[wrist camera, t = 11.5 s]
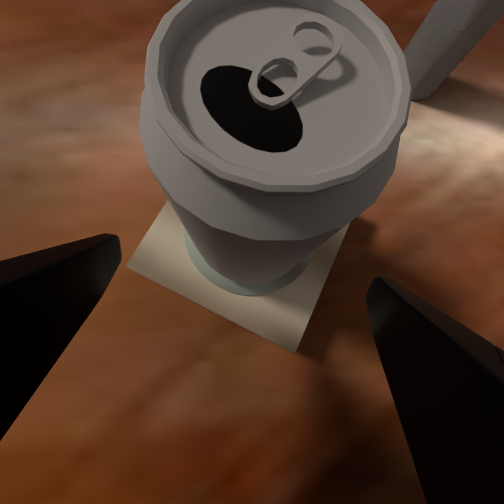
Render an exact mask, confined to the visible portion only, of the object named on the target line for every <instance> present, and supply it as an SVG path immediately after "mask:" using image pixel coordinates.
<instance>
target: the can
mask: <svg viewBox="0 0 504 504" xmlns="http://www.w3.org/2000/svg"><path fill="white" fill-rule="evenodd" d="M144 83H145V86H146V87H145V89H144V91H143V93H142V99H141V109H140V120H139V133H140V137H141V140H142V144H143V147H144V151H145V154H146V158H147V161H148V164H149V168H150V169H151V171H152V173H153V174H154V176H155V178H156V180H157V181H158V183H159V185H160V186H161V188H162V190H163V192H164V193H165V195H166V197H167V198H168V200H169V202H170V204H171V205H172V207H173V209H174V210H175V212H176V214H177V216H178V217H179V219H180V221H181V222H182V224H183V226H184V228H185V229H186V231H187V233H188V235H189V236H190V238H191V240H192V241H193V243H194V245H195V247H196V248H197V250H198V252H199V253H200V254H201V256H202V257H203V258H204V260H205V261H206V263H207V264H208V265H209V267H211V268H212V269H214V270H215V271H216V272H218V273H219V274H221V275H222V276H223V277H225V278H228V279H231V280H234V281H237V282H241V283H265V282H268V281H271V280H273V279H276V278H279V277H281V276H283V275H284V274H285V273H287V272H288V271H289V270H290V269H292V268H293V267H294V266H296V265H297V264H298V263H299V262H301V261H302V260H303V259H304V258H306V257H307V256H308V255H309V254H311V253H312V252H313V251H314V250H316V249H317V248H318V247H319V246H321V245H322V244H323V243H325V242H326V241H327V240H328V239H330V238H331V237H332V236H333V235H335V234H336V233H337V232H338V231H340V230H341V229H342V228H343V227H345V226H346V225H347V224H348V223H350V222H351V221H352V220H353V219H355V218H356V217H357V216H358V215H360V214H361V213H362V212H363V211H365V210H366V209H367V208H368V207H370V206H371V205H372V204H373V203H375V201H376V200H377V198H378V196H379V195H380V193H381V191H382V190H383V188H384V187H385V185H386V183H387V182H388V180H389V179H390V177H391V175H392V174H393V172H394V168H395V163H396V157H397V152H398V146H399V141H400V135H401V133H402V132H403V130H404V129H405V127H406V126H407V120H408V114H409V109H410V103H411V97H412V88H411V83H410V78H409V73H408V68H407V63H406V58H405V56H404V54H403V52H402V51H401V49H400V47H399V45H398V44H397V42H396V40H395V39H394V37H393V35H392V33H391V32H390V30H389V28H388V27H387V26H386V25H385V24H384V23H383V22H382V21H381V20H380V19H379V18H378V17H377V16H376V15H375V14H374V13H373V12H372V11H371V10H370V9H369V8H368V7H367V6H366V5H365V4H364V3H363V2H361V1H359V0H181V1H180V2H179V3H178V4H176V5H175V6H174V7H173V8H172V9H171V10H170V11H169V12H168V13H166V14H165V15H164V16H163V18H162V20H161V22H160V24H159V26H158V28H157V30H156V31H155V33H154V35H153V37H152V39H151V41H150V43H149V45H148V47H147V56H146V67H145V77H144Z"/></svg>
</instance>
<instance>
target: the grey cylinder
mask: <svg viewBox="0 0 504 504" xmlns="http://www.w3.org/2000/svg"><path fill="white" fill-rule="evenodd" d="M503 14H504V0H437V1H436V3H435V4H434V6H433V7H432V9H431V10H430V12H429V13H428V15H427V16H426V18H425V20H424V21H423V23H422V24H421V26H420V27H419V29H418V30H417V32H416V34H415V35H414V37H413V38H412V40H411V41H410V43H409V44H408V46H407V48H406V49H405V51H404V52H403V54H404V56H405V58H406V63H407V68H408V73H409V78H410V83H411V88H412V97H411V100H422V99H425V98H427V97H429V96H430V95H431V94H432V93H433V92H434V91H435V90H436V89H437V88H438V87H439V86H440V84H441V83H442V82H443V81H444V80H445V79H446V78H447V77H448V76H449V74H450V73H451V72H452V71H453V70H454V69H455V68H456V67H457V65H458V64H459V63H460V62H461V61H462V60H463V59H464V58H465V57H466V55H467V54H468V53H469V52H470V51H471V50H472V49H473V48H474V47H475V45H476V44H477V43H478V42H479V41H480V40H481V39H482V38H483V36H484V35H485V34H486V33H487V32H488V31H489V30H490V29H491V28H492V26H493V25H494V24H495V23H496V22H497V21H498V20H499V19H500V18H501V16H502V15H503Z"/></svg>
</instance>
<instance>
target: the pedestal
mask: <svg viewBox="0 0 504 504" xmlns="http://www.w3.org/2000/svg"><path fill="white" fill-rule="evenodd" d="M349 224H350V223H348V224H347V225H346V226H345V227H343V228H342V229H341V230H340V231H338V232H337V233H336V234H335V235H333V236H332V237H331V238H330V239H328V240H327V241H326V242H325V243H323V244H322V245H321V246H319V247H318V248H317V249H316V250H314V251H313V252H312V253H311V254H309V255H308V256H307V257H306V258H304V259H303V260H302V261H301V262H299V263H298V264H297V265H296V266H294V267H293V268H292V269H290V270H289V271H288V272H287V273H285V274H284V275H283V276H281V277H279V278H276V279H273V280H271V281H268V282H265V283H241V282H237V281H234V280H231V279H228V278H225V277H223V276H222V275H221V274H219V273H218V272H216V271H215V270H214V269H212V268H211V267H209V265H208V264H207V263H206V261H205V260H204V258H203V257H202V256H201V254H200V253H199V252H198V250H197V248H196V247H195V245H194V243H193V241H192V240H191V238H190V236H189V235H188V233H187V231H186V229H185V228H184V226H183V224H182V222H181V221H180V219H179V217H178V216H177V214H176V212H175V210H174V209H173V207H172V205H171V204H170V202H169V200H168V201H167V202H166V204H165V205H164V207H163V208H162V210H161V211H160V213H159V215H158V216H157V218H156V219H155V221H154V222H153V224H152V226H151V227H150V229H149V230H148V232H147V233H146V235H145V237H144V238H143V240H142V241H141V243H140V244H139V246H138V248H137V249H136V251H135V252H134V254H133V255H132V257H131V258H130V260H129V262H128V263H127V265H126V266H125V267H127V268H129V269H131V270H133V271H135V272H137V273H139V274H141V275H143V276H145V277H147V278H149V279H151V280H153V281H155V282H157V283H158V284H160V285H162V286H164V287H166V288H168V289H170V290H172V291H174V292H176V293H178V294H180V295H182V296H184V297H186V298H188V299H190V300H191V301H193V302H195V303H197V304H199V305H201V306H203V307H205V308H207V309H209V310H211V311H213V312H215V313H217V314H219V315H221V316H223V317H224V318H226V319H228V320H230V321H232V322H234V323H236V324H238V325H240V326H242V327H244V328H246V329H248V330H250V331H252V332H254V333H256V334H258V335H259V336H261V337H263V338H265V339H267V340H269V341H271V342H273V343H275V344H277V345H279V346H281V347H283V348H285V349H287V350H289V351H291V352H292V353H294V354H295V352H296V350H297V348H298V345H299V343H300V340H301V338H302V336H303V333H304V331H305V329H306V326H307V324H308V321H309V319H310V317H311V314H312V312H313V310H314V307H315V305H316V303H317V300H318V298H319V295H320V293H321V291H322V288H323V286H324V284H325V281H326V279H327V276H328V274H329V272H330V269H331V267H332V265H333V262H334V260H335V257H336V255H337V253H338V250H339V248H340V246H341V243H342V241H343V238H344V236H345V234H346V231H347V229H348V227H349Z"/></svg>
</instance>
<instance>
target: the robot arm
mask: <svg viewBox="0 0 504 504" xmlns="http://www.w3.org/2000/svg"><path fill="white" fill-rule="evenodd" d="M121 258H122V255H121V247H120V240H119V237H118V236H117V235H114V234H107V233H104V234H100V235H96V236H93V237H89V238H85V239H81V240H78V241H74V242H70V243H66V244H62V245H59V246H55V247H51V248H47V249H44V250H40V251H36V252H32V253H29V254H25V255H21V256H17V257H13V258H10V259H6V260H2V261H0V441H1V439H2V438H3V436H4V435H5V434H6V432H7V431H8V429H9V428H10V427H11V425H12V424H13V422H14V421H15V419H16V418H17V417H18V415H19V414H20V412H21V411H22V409H23V408H24V407H25V405H26V404H27V402H28V401H29V400H30V398H31V397H32V395H33V394H34V392H35V391H36V390H37V388H38V387H39V385H40V384H41V383H42V381H43V380H44V378H45V377H46V375H47V374H48V373H49V371H50V370H51V368H52V367H53V365H54V364H55V363H56V361H57V360H58V358H59V357H60V356H61V354H62V353H63V351H64V350H65V348H66V347H67V346H68V344H69V343H70V341H71V340H72V339H73V337H74V336H75V334H76V333H77V331H78V330H79V329H80V327H81V326H82V324H83V323H84V321H85V320H86V319H87V317H88V316H89V314H90V313H91V312H92V310H93V309H94V307H95V306H96V304H97V303H98V302H99V300H100V299H101V297H102V295H103V294H104V292H105V290H106V288H107V286H108V285H109V283H110V281H111V279H112V277H113V275H114V273H115V272H116V270H117V268H118V266H119V264H120V262H121ZM366 304H367V309H368V314H369V318H370V323H371V328H372V333H373V337H374V341H375V344H376V347H377V350H378V354H379V357H380V360H381V363H382V366H383V369H384V372H385V375H386V378H387V381H388V384H389V387H390V390H391V394H392V397H393V400H394V403H395V406H396V409H397V412H398V415H399V418H400V421H401V424H402V427H403V431H404V434H405V437H406V440H407V443H408V446H409V449H410V452H411V455H412V458H413V461H414V464H415V467H416V471H417V474H418V477H419V480H420V483H421V486H422V489H423V492H424V495H425V498H426V499H427V501H426V502H427V504H504V351H503V350H502V349H500V348H498V347H497V346H494V345H493V344H492V343H491V342H489V341H487V340H486V339H484V338H483V337H481V336H480V335H478V334H476V333H475V332H473V331H472V330H470V329H469V328H467V327H465V326H464V325H462V324H461V323H459V322H457V321H456V320H454V319H453V318H451V317H450V316H448V315H446V314H445V313H443V312H442V311H440V310H439V309H437V308H435V307H434V306H432V305H431V304H429V303H428V302H426V301H424V300H423V299H421V298H420V297H418V296H417V295H415V294H413V293H412V292H410V291H409V290H407V289H406V288H404V287H402V286H401V285H399V284H398V283H396V282H395V281H393V280H391V279H390V278H387V277H381V276H377V277H375V278H374V280H373V282H372V284H371V286H370V288H369V290H368V292H367V295H366Z"/></svg>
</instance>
